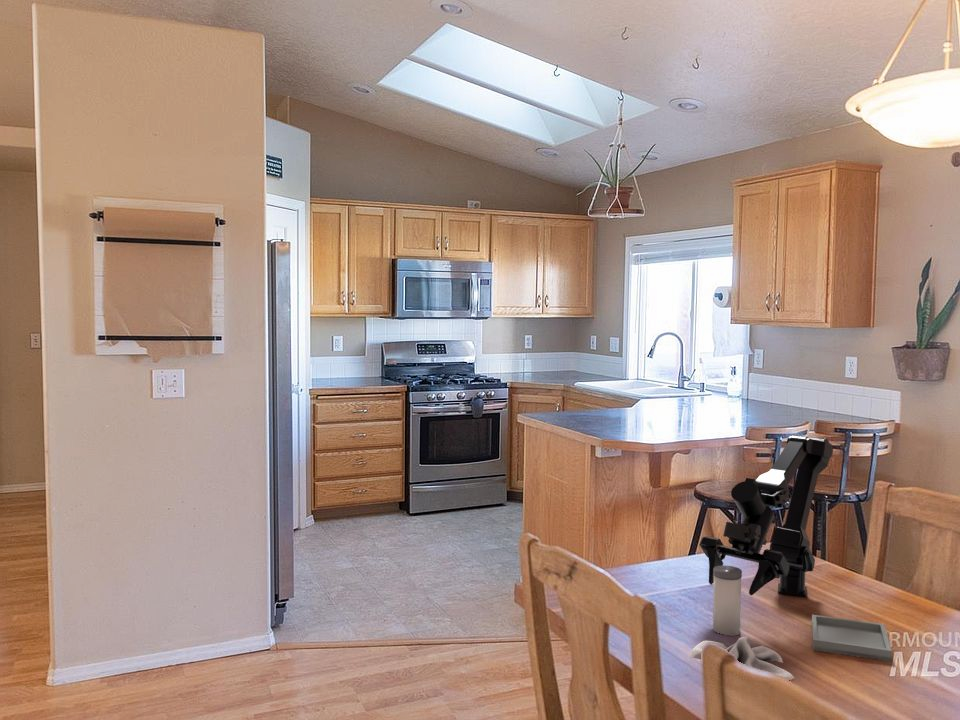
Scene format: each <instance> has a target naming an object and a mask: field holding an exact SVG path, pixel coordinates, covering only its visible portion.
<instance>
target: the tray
mask: <svg viewBox="0 0 960 720" xmlns="http://www.w3.org/2000/svg"><path fill="white" fill-rule="evenodd" d="M811 633H812V635H811V636H813V637H812V650H813V651H814V650H817V651H816V652H821V651H824V652H823V653H828V652H831V653H830V654H835V653H836V654H835V655H841V654H844V655H843V656H848V655H853V656H852V657H855V656H859V657H858V658H862V657H866V658H865V659H869V658H872V659H871V660H875V659H878V660H877V661H882V660H884V662H889V661H890V663H892V656H893V653H892V652H893V650H892V647H891V643H890V640H889V636H888V633H887V630H886V626H885V623H879V622H871V621H864V620H859V619H858V620H856V619H848V618H841V617H833V616H826V615H818V614H811Z"/></svg>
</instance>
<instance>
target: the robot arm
mask: <svg viewBox="0 0 960 720" xmlns="http://www.w3.org/2000/svg"><path fill="white" fill-rule="evenodd" d="M833 453H834V447H833V444H832V443H830V441H829V439H827V438H823V437H822V438H820V437H810V436H803V435H802V436H800V435H799V436H798V435H790V436H789V437H788V438H787V439H786V444H785V446H784V448H783V450H782V451H781V452H780V453H779V456H778V458H777V459H776V460H775V462H774V463H773V464H772V467H771V468H770V469H769V471H766V472H764V473H762V474H759V476H758V477H757V478H753V477H745V480H744V481H741V482H738V483H737V484H735V485H734V486H733V487H732V488H731V491H730V492H731V493H730V495H731V498H732V500H733V501H734V503H735V505H736V506H737V508H738V510H739V512H740V513H741V514H742V515H743V519H742V521H741V522H738V523H735V522H730V521H726V522H725V525H724V526H725V527H724V532H723V537H727V539H728V540H727V541H728V543H729V544H730V545H732V546H727V545H724V543H723V542H722V540H721V539H720V538H717V537H714V536H713V537H712V536H709V535H705V536H703V537H702V538H701V539H700V542H699V544H698V545H699V547H700V549H701V550H702V551H703V553H704V555H705V556H706V557H707V558H708V584H709V585H714V575H713V568H714V567H716V566H723V565H724V562H723V560H724V559H726V556H727V557H732V558H736V559H741V560H744V561H748V562H749V561H750V562H754V563H758V566H757V571H756V573H755V575H754V578H753V579H752V583H751V585H750V587H749V590H748V594H749V595H750V596H753V595H754V594H756V593H757V592H758V591H759V590H761V589H762V588H763V587H764V586H765V585H767V584H768V583H770V582H771V581H773V580H775V579H779V583H777V584H778V585H777V594H782V595H790V596H797V597H805V598H806V597H807V596H808V589H807V586H806V573H808V572H813V571H814V569H815V565H816V563H815V561H816V559H815V557H814V555H813V552H812V551H811V549H810V545H811V541H810V540H809V536H808V533H807V531H806V530H807V529H806V528H807V525H808V520H809V516H810V511H811V507H812V503H813V499H814V494H815V489H816V486H817V482H818V477H819V474H821V472H823V471H824V470H825V469H826V468H827V467H828V466H829V465H828V464H829V463H830V459H831V458H832V456H833ZM795 474H796V475H795ZM794 475H795V476H796V477H795V480H794V484H793V489H792V492H791V497H790V501H789V505H788V508H787V509H788V510H787V514H786V516H785V522H784V524H782V525H781V527H779V526H777V527H776V528H775V529H774V531H773V532H774V533H773V537H772V540H771V542H770V544H769V548H768V549H764V550H763V552H762V553H761V550H762V548H763V546H766V545H767V542H768V541H767V539H766V538H767V534H768V532H769V530H770V528H771V525H772V524H773V525H775V524H776V517H775V514H774V511H773V510H772V508H777V509H782V508H783V507H784V505H785V504H786V503H787V502H788V500H789V495H790V489H789V484H790V482H791V480H792V479H793V477H794ZM770 507H772V508H770Z"/></svg>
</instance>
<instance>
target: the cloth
mask: <svg viewBox="0 0 960 720" xmlns="http://www.w3.org/2000/svg"><path fill="white" fill-rule="evenodd" d="M709 643H712V644H716V645H718V646H720V647H722V648H724V649H726V650H727V651H728V652H731V653H732V654H734V655H735V657H736V658H737V660H738V661H739V662H741V663H743V664H746V665H749V666H751V667H754V668H757V669H760V670H765V671H768V672H771V673H773V674H776V675H779V676H782V677H784V678H786V679H788V680H790V679H792V678H793V677H794V675H793V674H792V673H790V672H789V671H787V670H786V669H783V668H781V667H779V666H777V665H776V664H775V665H774V664H772V663H770V662H774V661H778V662H782V660H783V658H782V656H781V655H780V654H779V653H777V652H776V651H775V650H773V649H771V648H769V647H766V646H763V645H760V646H755V647H751V643H750V640H749V638H748V636H741V637H739V638H738V639H737V640H736V642H735V643H733V644H731V645H730V646H728V647H727V646H726V645H725V643H722V642H717V641H713V640H702V641H701V642H700V643H698V644H697V645H695V647H693V649H692V650H691V651H690V653H689V658H691V659H701V651H702V648H703V647H704V646H705V645H706V644H709ZM778 662H777V663H778ZM782 663H783V662H782ZM790 681H792V680H790ZM790 681H789V682H790Z"/></svg>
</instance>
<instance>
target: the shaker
mask: <svg viewBox="0 0 960 720" xmlns="http://www.w3.org/2000/svg"><path fill="white" fill-rule="evenodd" d="M713 575H714V583H713V599H712V600H713V602H712V603H713V607H712V611H713V612H712V614H713V615H712V617H713V618H712V619H713V620H712V629H713V632H714V633H716V632H717V633H716V634H719V633H720V634H719V635H722V634H724V635H723V636H727V635H731V637H732V636H738V635H740V634H741V617H742V615H741V612H742V611H741V610H742V606H741V605H742V577H743V571H742V569H740V568H739V567H736V566H733V565H724V564H723V566H716V567H714V568H713Z"/></svg>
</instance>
